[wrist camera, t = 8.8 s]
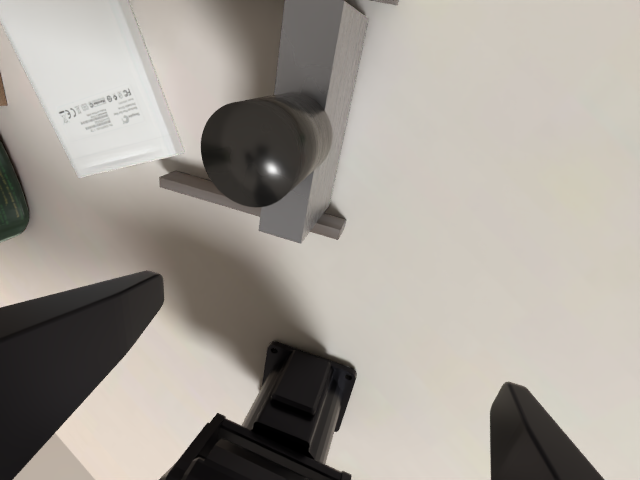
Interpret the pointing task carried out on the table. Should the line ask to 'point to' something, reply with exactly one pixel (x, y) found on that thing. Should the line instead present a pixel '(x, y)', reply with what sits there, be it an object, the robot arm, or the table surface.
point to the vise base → (210, 193)
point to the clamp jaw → (291, 121)
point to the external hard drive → (93, 81)
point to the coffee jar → (11, 201)
